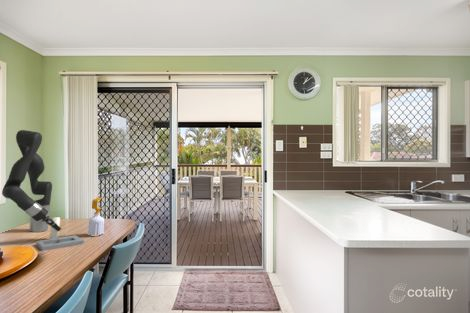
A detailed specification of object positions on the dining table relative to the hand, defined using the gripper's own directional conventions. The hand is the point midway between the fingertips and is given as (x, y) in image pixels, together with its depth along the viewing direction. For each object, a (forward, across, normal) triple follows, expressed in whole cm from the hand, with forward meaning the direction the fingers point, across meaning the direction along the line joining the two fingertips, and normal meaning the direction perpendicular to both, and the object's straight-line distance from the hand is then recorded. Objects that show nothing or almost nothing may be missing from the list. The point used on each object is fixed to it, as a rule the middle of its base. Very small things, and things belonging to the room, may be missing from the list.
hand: (58, 229), depth 159 cm
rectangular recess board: (+3, -13, +6) cm, 14 cm away
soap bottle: (+19, -4, -10) cm, 22 cm away
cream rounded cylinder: (+3, 0, +6) cm, 6 cm away
